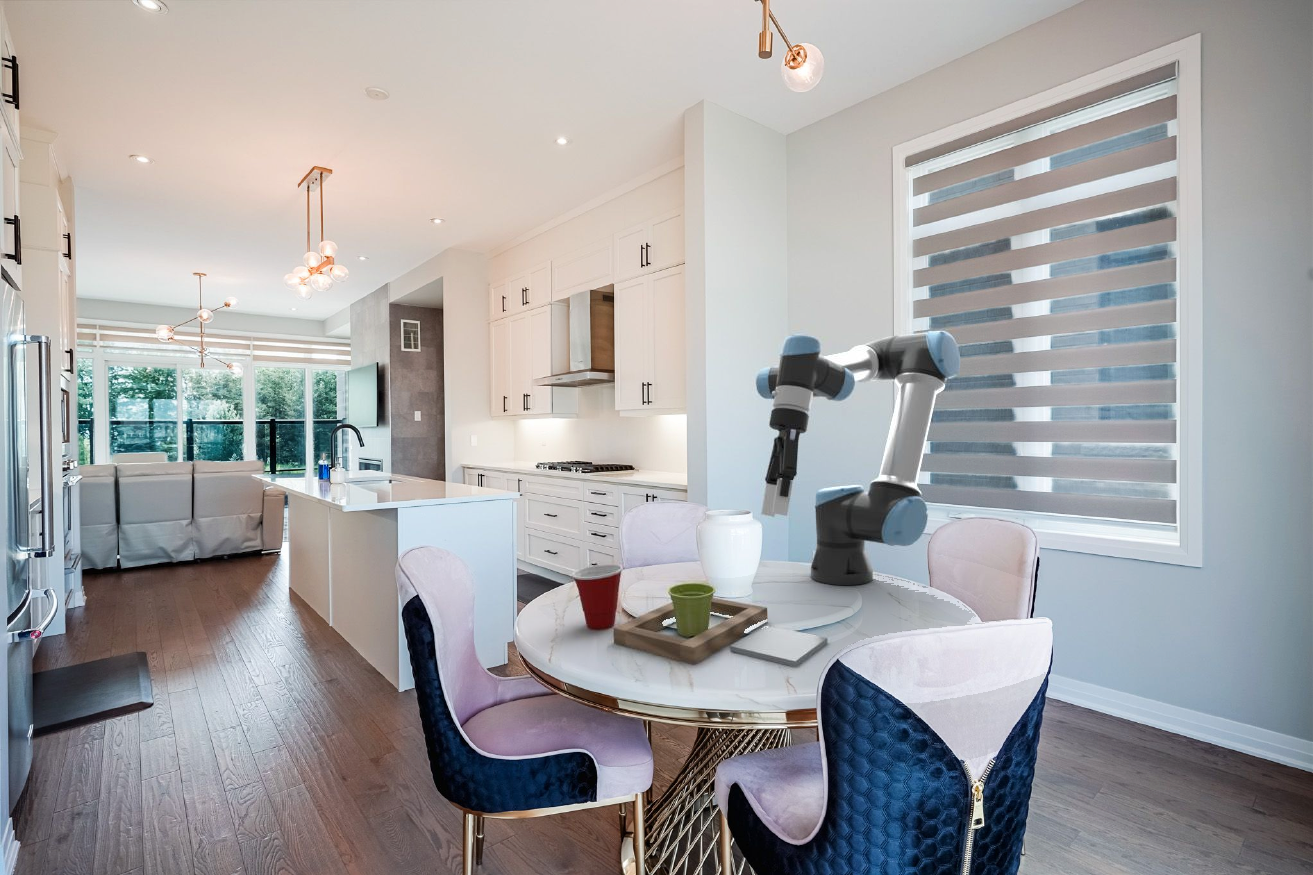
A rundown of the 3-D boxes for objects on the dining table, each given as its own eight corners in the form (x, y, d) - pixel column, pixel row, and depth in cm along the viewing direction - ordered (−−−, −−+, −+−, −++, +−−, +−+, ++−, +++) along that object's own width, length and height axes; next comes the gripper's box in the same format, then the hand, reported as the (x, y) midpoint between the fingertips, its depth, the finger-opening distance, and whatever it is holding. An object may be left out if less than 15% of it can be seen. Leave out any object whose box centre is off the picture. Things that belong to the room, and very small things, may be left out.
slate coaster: (765, 630, 128) (765, 625, 128) (827, 643, 120) (827, 637, 120) (730, 651, 118) (730, 645, 118) (795, 666, 110) (795, 661, 110)
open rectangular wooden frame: (692, 606, 145) (691, 593, 144) (767, 621, 133) (767, 607, 133) (613, 643, 124) (613, 627, 124) (694, 664, 112) (693, 647, 112)
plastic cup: (583, 616, 141) (580, 561, 141) (631, 617, 139) (628, 562, 139) (566, 633, 131) (563, 575, 130) (617, 635, 129) (614, 575, 128)
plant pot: (726, 630, 129) (724, 587, 128) (695, 644, 122) (693, 599, 121) (691, 621, 135) (689, 580, 135) (659, 633, 128) (658, 590, 128)
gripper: (762, 417, 143) (746, 512, 140) (783, 395, 118) (764, 509, 115) (796, 424, 143) (780, 519, 140) (824, 402, 118) (806, 517, 115)
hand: (773, 515), depth 127 cm, fingers open, 13 cm apart
